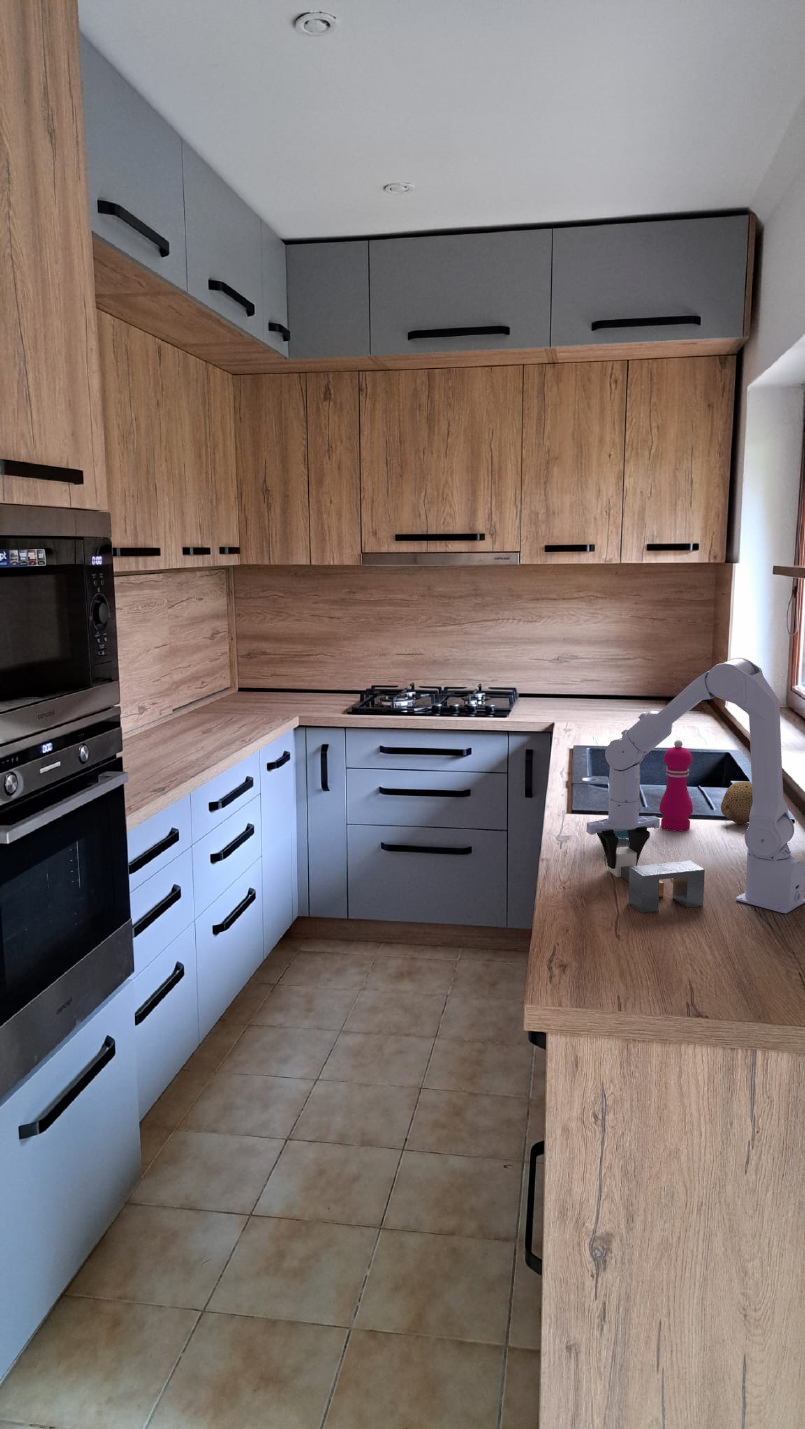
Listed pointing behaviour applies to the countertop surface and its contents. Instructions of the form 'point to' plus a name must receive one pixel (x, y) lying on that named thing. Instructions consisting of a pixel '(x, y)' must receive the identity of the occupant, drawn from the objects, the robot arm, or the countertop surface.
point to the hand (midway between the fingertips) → (622, 865)
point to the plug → (628, 865)
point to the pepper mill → (676, 790)
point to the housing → (683, 873)
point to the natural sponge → (738, 802)
